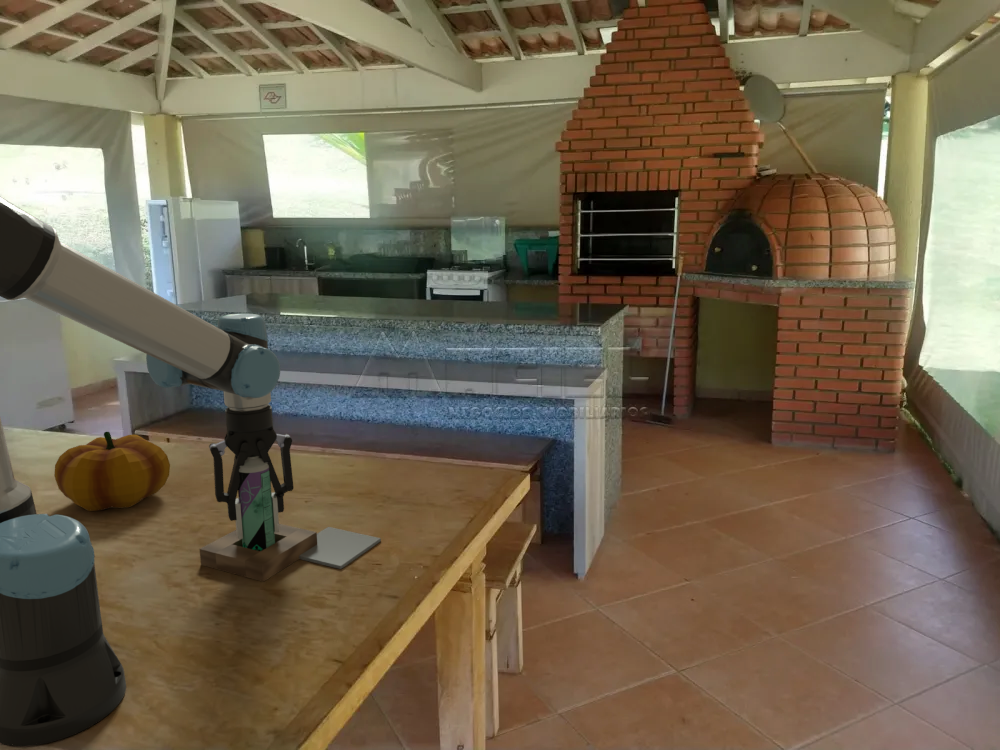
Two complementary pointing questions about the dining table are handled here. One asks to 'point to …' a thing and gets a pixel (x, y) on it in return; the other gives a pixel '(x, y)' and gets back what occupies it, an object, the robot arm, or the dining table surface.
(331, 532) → the slate tile
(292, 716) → the dining table surface
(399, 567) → the dining table surface
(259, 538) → the spray can
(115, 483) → the decorative pumpkin
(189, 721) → the dining table surface
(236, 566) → the eye block
